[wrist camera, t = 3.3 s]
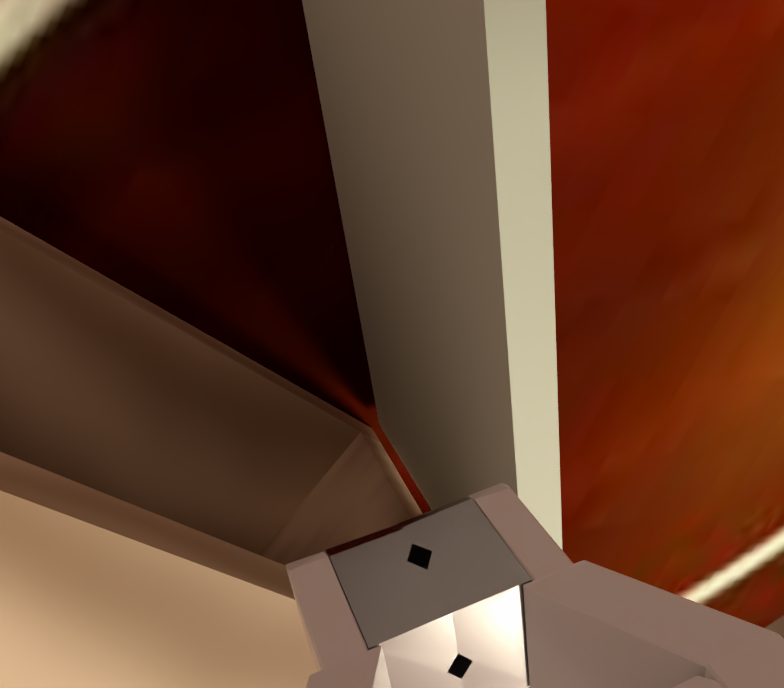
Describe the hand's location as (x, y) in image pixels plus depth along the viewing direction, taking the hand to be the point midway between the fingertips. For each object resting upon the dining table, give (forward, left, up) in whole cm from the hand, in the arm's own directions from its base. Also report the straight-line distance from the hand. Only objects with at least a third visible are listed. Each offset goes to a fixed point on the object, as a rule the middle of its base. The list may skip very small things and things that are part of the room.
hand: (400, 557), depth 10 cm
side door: (-3, +4, -15) cm, 16 cm away
